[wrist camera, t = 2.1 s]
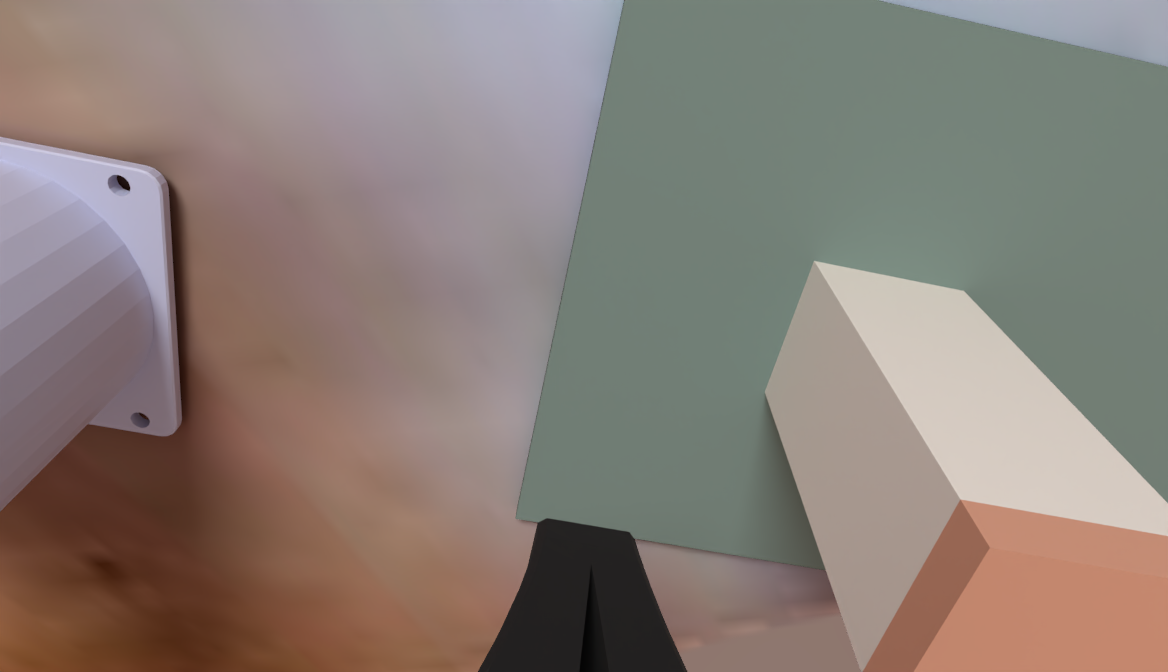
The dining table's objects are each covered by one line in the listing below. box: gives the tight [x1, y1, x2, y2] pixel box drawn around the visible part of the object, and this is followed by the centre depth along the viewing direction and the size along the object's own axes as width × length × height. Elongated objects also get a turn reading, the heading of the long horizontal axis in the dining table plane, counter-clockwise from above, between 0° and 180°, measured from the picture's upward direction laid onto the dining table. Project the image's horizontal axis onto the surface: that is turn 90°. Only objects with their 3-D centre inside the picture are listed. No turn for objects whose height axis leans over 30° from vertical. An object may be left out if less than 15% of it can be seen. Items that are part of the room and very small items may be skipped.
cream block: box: [765, 261, 1168, 672], centre depth 16 cm, size 4×4×10 cm
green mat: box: [516, 0, 1168, 570], centre depth 21 cm, size 22×16×1 cm
